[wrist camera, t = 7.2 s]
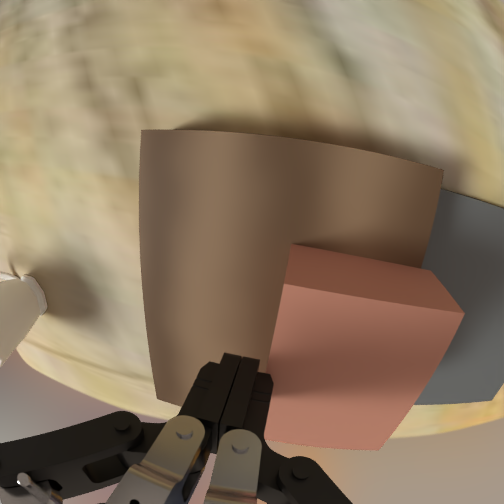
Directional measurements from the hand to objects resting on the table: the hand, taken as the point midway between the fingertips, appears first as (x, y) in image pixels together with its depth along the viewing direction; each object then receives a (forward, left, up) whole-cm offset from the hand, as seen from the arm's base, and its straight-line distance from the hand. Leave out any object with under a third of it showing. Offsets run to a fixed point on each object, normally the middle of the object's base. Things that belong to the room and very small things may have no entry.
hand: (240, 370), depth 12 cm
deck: (+1, 0, -7) cm, 7 cm away
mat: (+16, 0, -7) cm, 17 cm away
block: (+5, 0, -4) cm, 6 cm away
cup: (-23, -5, -7) cm, 25 cm away
